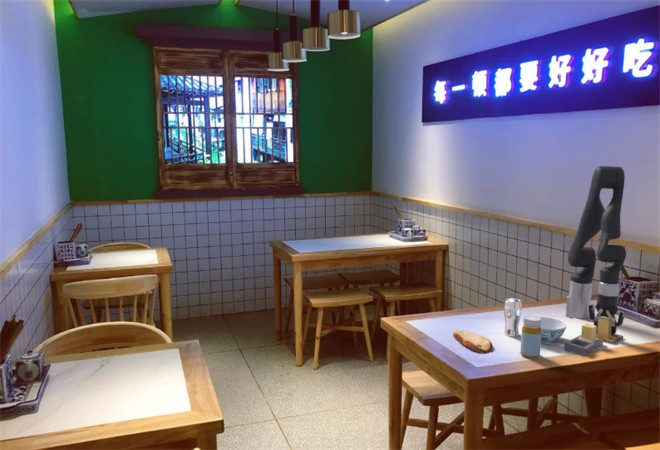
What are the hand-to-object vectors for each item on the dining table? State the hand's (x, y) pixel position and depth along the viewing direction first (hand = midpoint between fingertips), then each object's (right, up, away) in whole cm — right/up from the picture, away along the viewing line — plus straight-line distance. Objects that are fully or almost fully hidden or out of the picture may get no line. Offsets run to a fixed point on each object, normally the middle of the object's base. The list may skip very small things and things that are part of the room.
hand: (604, 332), depth 222 cm
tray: (0, -3, +1) cm, 3 cm away
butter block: (0, -2, 0) cm, 2 cm away
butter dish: (-13, -5, -9) cm, 16 cm away
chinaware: (-25, -4, -1) cm, 25 cm away
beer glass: (-36, -2, +6) cm, 37 cm away
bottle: (-37, -6, -16) cm, 41 cm away
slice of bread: (-56, -4, -3) cm, 56 cm away
